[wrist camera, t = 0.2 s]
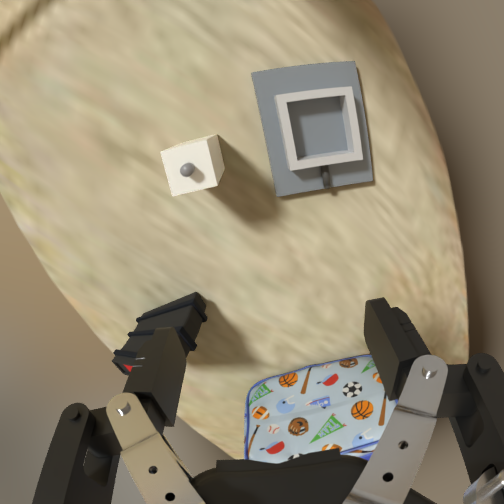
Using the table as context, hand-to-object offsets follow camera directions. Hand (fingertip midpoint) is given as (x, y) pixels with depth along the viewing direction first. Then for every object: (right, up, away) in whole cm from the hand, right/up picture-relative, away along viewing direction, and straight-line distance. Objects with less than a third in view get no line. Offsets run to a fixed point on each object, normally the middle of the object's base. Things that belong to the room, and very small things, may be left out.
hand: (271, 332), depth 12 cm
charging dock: (+7, +19, +23) cm, 31 cm away
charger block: (-7, +15, +25) cm, 30 cm away
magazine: (-14, -6, +35) cm, 38 cm away
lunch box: (+11, -21, +42) cm, 48 cm away
